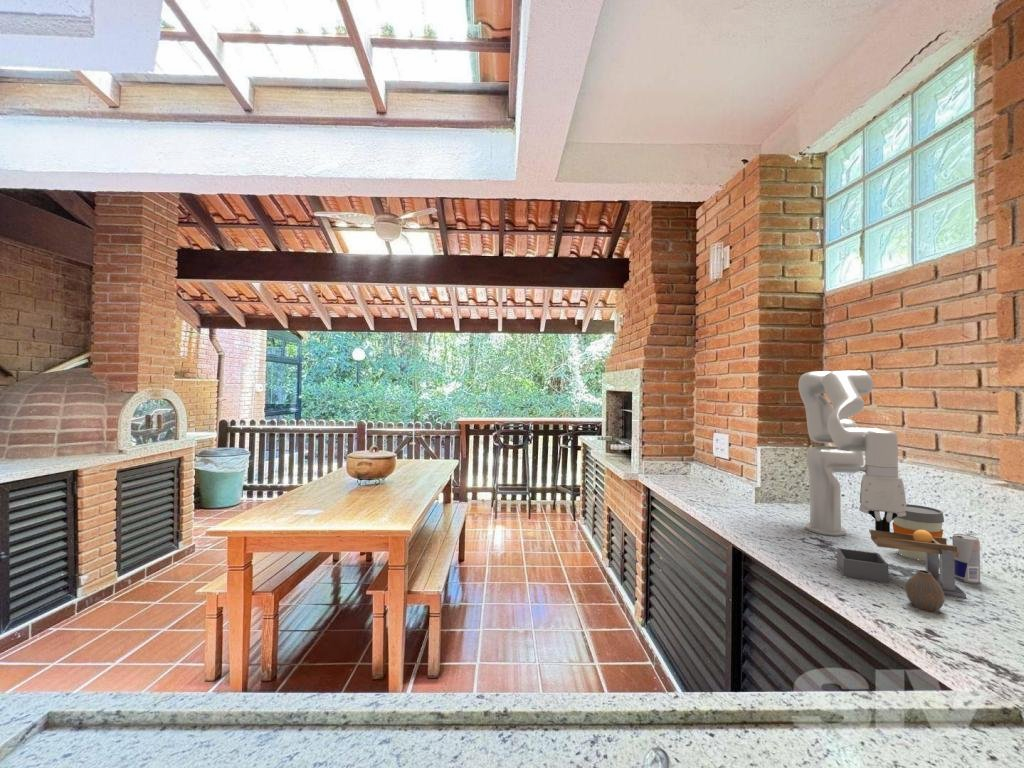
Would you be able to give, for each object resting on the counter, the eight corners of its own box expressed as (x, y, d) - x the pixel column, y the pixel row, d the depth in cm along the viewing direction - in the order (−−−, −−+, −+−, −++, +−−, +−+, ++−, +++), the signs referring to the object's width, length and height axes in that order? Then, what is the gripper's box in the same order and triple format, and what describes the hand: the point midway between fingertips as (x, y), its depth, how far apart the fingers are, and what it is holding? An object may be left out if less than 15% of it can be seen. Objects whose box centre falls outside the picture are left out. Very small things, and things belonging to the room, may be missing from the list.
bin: (837, 564, 136) (837, 547, 136) (878, 570, 131) (878, 553, 131) (843, 576, 127) (843, 558, 127) (888, 583, 123) (888, 565, 123)
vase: (925, 600, 113) (924, 565, 113) (952, 614, 106) (952, 577, 106) (898, 601, 112) (898, 566, 113) (924, 615, 106) (924, 577, 106)
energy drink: (951, 574, 129) (951, 532, 129) (978, 579, 125) (977, 536, 125) (954, 580, 124) (953, 537, 125) (981, 585, 121) (981, 541, 121)
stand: (916, 573, 129) (915, 535, 129) (944, 577, 126) (943, 538, 126) (934, 593, 117) (934, 551, 117) (965, 598, 114) (965, 554, 114)
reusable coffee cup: (926, 565, 135) (925, 515, 135) (881, 551, 147) (881, 505, 147) (955, 561, 138) (954, 512, 138) (909, 547, 150) (909, 502, 151)
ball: (909, 539, 126) (912, 525, 126) (927, 544, 124) (931, 530, 124) (914, 543, 122) (917, 529, 122) (933, 549, 121) (936, 534, 120)
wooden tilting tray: (865, 532, 138) (864, 523, 138) (936, 540, 130) (935, 530, 130) (878, 548, 124) (878, 538, 124) (958, 557, 117) (957, 547, 117)
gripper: (852, 471, 133) (854, 533, 133) (918, 476, 126) (920, 541, 126) (847, 468, 140) (848, 527, 139) (910, 472, 133) (911, 534, 133)
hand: (882, 533), depth 133 cm, fingers closed
